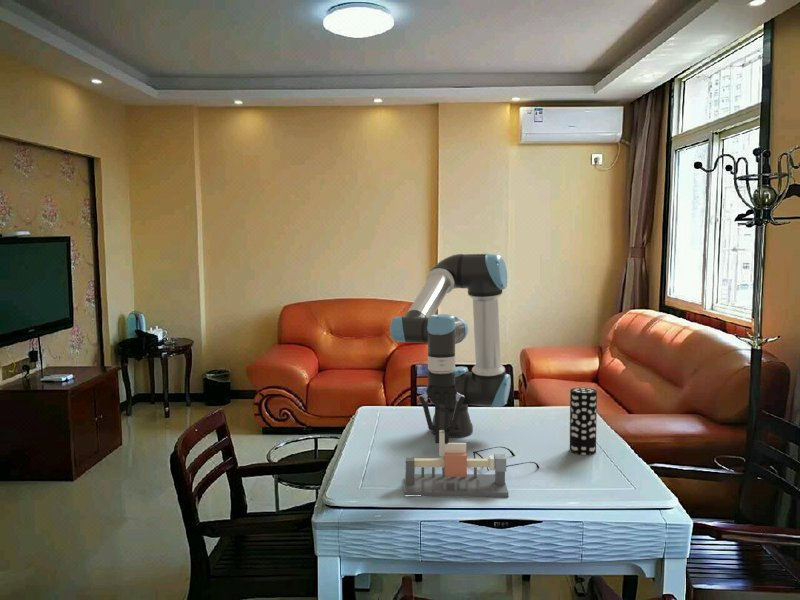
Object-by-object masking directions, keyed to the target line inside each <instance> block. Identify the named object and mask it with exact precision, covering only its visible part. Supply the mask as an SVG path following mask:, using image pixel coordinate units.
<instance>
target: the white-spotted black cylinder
mask: <svg viewBox="0 0 800 600" xmlns="http://www.w3.org/2000/svg"><path fill="white" fill-rule="evenodd" d="M569 391H570V394H569V396H570V397H569V399H570V400H569V451H570V452H571V453H573V454H576V455H580V454H581V455H582V456H587V455H588V456H590V455H594V454H596V453H597V411H598V410H597V403H598V401H597V399H598V390H597V389H594V388H589V387H574V388H570V390H569Z"/></svg>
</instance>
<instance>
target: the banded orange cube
mask: <svg viewBox="0 0 800 600" xmlns="http://www.w3.org/2000/svg"><path fill="white" fill-rule="evenodd" d="M467 454H468V453H467V442H448V443H445V456H443V457H444V458H443V459H445V467H444V471H445V477H467V474H468V467H467V459H468V455H467Z"/></svg>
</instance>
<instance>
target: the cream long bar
mask: <svg viewBox="0 0 800 600" xmlns="http://www.w3.org/2000/svg"><path fill="white" fill-rule="evenodd" d="M506 466H507V457H506V454H504V453H503V454H501V453H500V454H499V453H497V454H496V453H495V454H493V455H489V456H488V458H484V459H482V458H476V459H474V458H467V468H474V467H477V468H487V467H488V469H489V471H494V473H495V472H505V473H506V472H507V467H506ZM414 467H415V468H421V467H424V468H432V467H435V468H442V467H445V459H444V458H419V457H418V458H415V457H414Z"/></svg>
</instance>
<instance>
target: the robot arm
mask: <svg viewBox="0 0 800 600" xmlns="http://www.w3.org/2000/svg"><path fill="white" fill-rule="evenodd" d="M507 286H508V271H507V266H506V263H505V260H504V258H503V257H502V256H501V255H500V254H494V253H469V254H467V253H465V254H463V253H458V254H453V255H449V256H448V257H446V258H444V259H442V260H441V261H439V262H437V264H435V265H434V266H433V267H432V268H431V269H430V271H429V272H428V274H427V276H426V282H425V284H424V286H423V287H422V288H421V290H420V292H419V293H418V295H417V296H416V298H415V299H414V301H413V302H412V303H411V306H410V307H409V309H408V310H407V312H406V313H405V315H404V316H402V315H401V316H395V317H393V318H392V319H391V322H390V326H389V333H390V337H391V339H392V341H394V342H399V343H413V344H414V343H418V344H419V343H420V344H427V369H428V372H427V389H426V390H425V392H424V393H423V394H419V395H418V400H419V402H420V403H421V405H422V408H423V411H424V416H425V419H426V422H427V423H426V425H427V429H428V430H429V431H430V433H431V434H433V435H434V442H435V444H438V445H439V446H438V449H439V451H438V454H439V455H438V456H439V457H444V456H445V443H450V438H462V437H467V436H470V435H472V434H473V433H474V432H473V430H474V427H473V423H472V421H471V420H472V419H471V417H470V413H469V406H477V407H478V406H480V407H487V408H488V407H490V408H503V407H504V406H505V405H506V404H507V402H508V399H509V396H510V391H511V381H512V379H511V375H510V374H508V373H506V368H505V366H504V365H502V363H501V342H500V340H501V339H500V313H499V311H500V309H499V298H500V297H501V295H503V291H504V290H505V289H506V288H507ZM453 289H467V296H469V297H470V298H471V300H472V309H473V311H472V313H473V332H474V333H473V335H474V352H475V354H474V355H475V356H474V357H475V364H474V365H473V367H472V368H471V371H469V369H468V367H467V366H456V345H457V344H459V343H461V342H463V340H465V339H466V337H467V335H468V334H469V333H468V332H469V327H468V324H467V322H466V321H465V320H464V319H463V318H461V317H457V316H453V315H452V314H448V313H447V314H443V313H442V314H436V312H437V310H438V309H439V307H440V305H441V304H442V302H443V300H444V299H445V297H446V295H447V294H450V292H452V291H453ZM428 399H430V400H431V401H432V404H434V415H433V418H432V417H431V414H430V409H429V405H428Z"/></svg>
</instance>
